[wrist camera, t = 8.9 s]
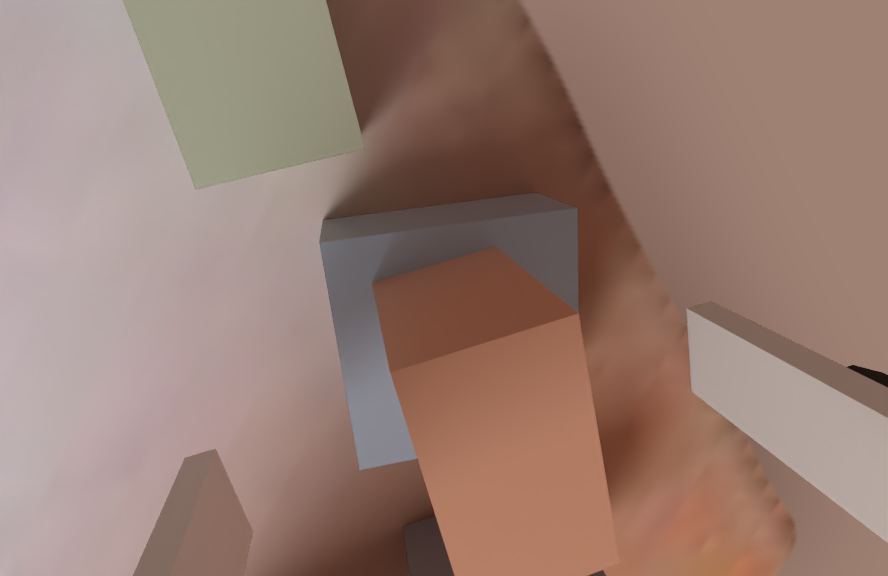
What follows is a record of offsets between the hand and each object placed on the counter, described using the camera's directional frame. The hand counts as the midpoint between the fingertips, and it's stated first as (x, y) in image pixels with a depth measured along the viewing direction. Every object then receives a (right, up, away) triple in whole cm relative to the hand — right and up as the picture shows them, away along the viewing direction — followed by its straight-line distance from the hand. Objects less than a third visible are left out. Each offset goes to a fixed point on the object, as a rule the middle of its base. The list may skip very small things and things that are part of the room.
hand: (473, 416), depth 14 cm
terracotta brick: (0, +1, +3) cm, 3 cm away
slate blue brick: (-1, +3, +7) cm, 7 cm away
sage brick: (-6, +11, +3) cm, 13 cm away
